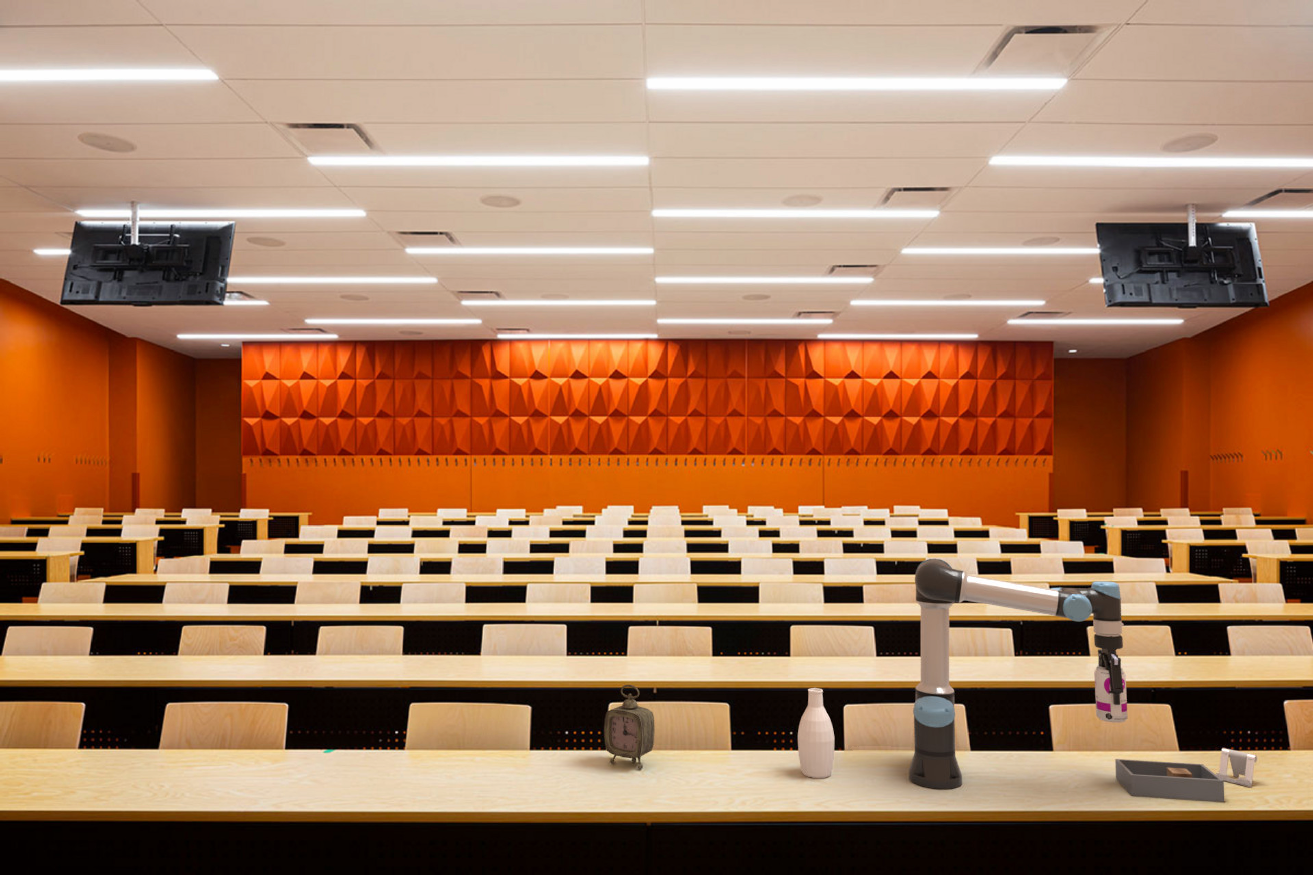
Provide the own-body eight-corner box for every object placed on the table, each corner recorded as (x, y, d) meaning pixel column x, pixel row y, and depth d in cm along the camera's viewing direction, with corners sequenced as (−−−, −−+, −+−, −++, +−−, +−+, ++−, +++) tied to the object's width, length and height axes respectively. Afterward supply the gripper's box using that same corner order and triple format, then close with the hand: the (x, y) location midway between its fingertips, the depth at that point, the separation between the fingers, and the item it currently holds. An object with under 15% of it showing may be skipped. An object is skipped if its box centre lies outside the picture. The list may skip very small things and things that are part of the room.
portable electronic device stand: (1216, 780, 258) (1215, 751, 258) (1226, 774, 263) (1225, 746, 263) (1249, 788, 251) (1248, 758, 251) (1259, 782, 256) (1258, 753, 256)
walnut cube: (1173, 790, 246) (1172, 772, 247) (1167, 784, 251) (1166, 767, 252) (1193, 792, 245) (1192, 774, 246) (1186, 786, 250) (1185, 768, 250)
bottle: (820, 765, 272) (819, 684, 273) (842, 776, 262) (841, 691, 263) (790, 770, 267) (790, 687, 268) (812, 782, 257) (811, 695, 258)
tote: (1131, 795, 245) (1131, 774, 245) (1115, 778, 259) (1115, 758, 259) (1224, 801, 240) (1223, 780, 240) (1203, 784, 254) (1202, 764, 254)
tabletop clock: (603, 764, 274) (603, 684, 275) (619, 756, 281) (619, 679, 283) (642, 772, 266) (642, 690, 267) (657, 764, 274) (657, 684, 275)
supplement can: (1131, 723, 251) (1129, 671, 252) (1101, 722, 252) (1098, 670, 253) (1122, 716, 259) (1120, 665, 260) (1092, 715, 260) (1090, 664, 261)
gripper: (1133, 640, 246) (1137, 721, 245) (1110, 628, 267) (1114, 703, 265) (1105, 640, 248) (1108, 720, 246) (1084, 628, 268) (1088, 702, 267)
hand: (1111, 711), depth 256 cm, fingers closed on supplement can, 8 cm apart
